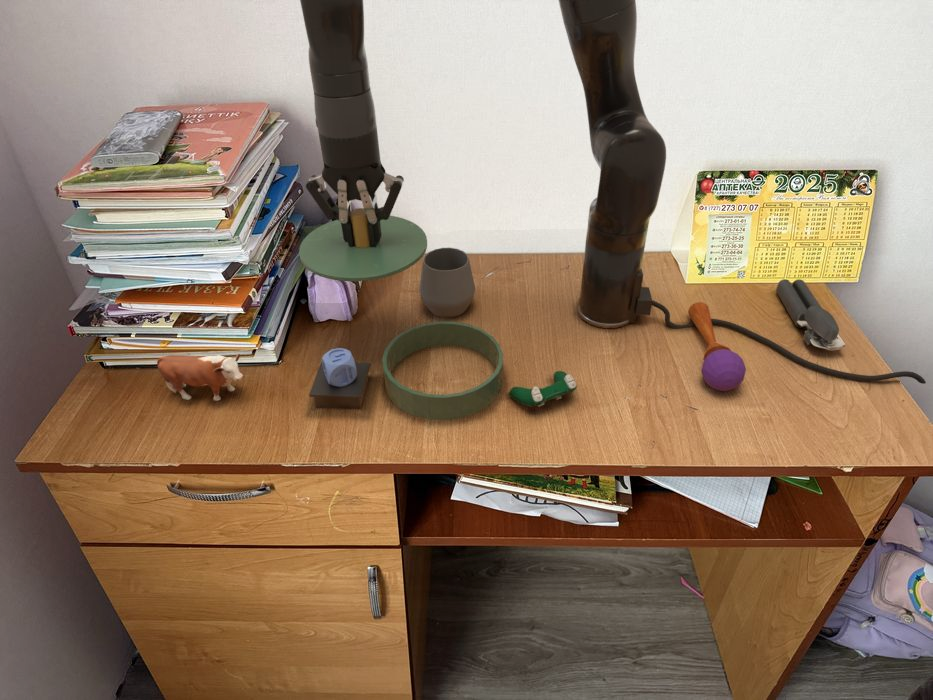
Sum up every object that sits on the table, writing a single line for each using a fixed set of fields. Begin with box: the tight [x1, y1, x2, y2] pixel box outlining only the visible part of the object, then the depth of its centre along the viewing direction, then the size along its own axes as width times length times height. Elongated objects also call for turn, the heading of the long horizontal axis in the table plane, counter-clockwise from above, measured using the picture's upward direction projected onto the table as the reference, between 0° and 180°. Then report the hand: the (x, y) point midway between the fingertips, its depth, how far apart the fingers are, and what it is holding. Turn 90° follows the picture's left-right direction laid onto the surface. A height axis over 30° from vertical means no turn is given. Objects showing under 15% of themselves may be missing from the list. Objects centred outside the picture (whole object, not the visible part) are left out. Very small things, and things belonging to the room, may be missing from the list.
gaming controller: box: [508, 370, 578, 408], centre depth 97 cm, size 9×4×6 cm
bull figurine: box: [156, 353, 245, 402], centre depth 97 cm, size 4×13×8 cm, turn 78°
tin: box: [381, 320, 504, 421], centre depth 100 cm, size 18×18×5 cm
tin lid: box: [298, 207, 428, 282], centre depth 96 cm, size 18×18×6 cm
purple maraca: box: [687, 301, 747, 392], centre depth 104 cm, size 6×6×20 cm
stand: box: [309, 361, 371, 410], centre depth 98 cm, size 8×8×4 cm
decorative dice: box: [321, 347, 357, 387], centre depth 96 cm, size 4×4×4 cm
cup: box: [418, 247, 476, 319], centre depth 113 cm, size 10×9×10 cm
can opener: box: [775, 278, 846, 351], centre depth 109 cm, size 19×5×6 cm, turn 178°
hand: (363, 243), depth 97 cm, fingers closed on tin lid, 2 cm apart
